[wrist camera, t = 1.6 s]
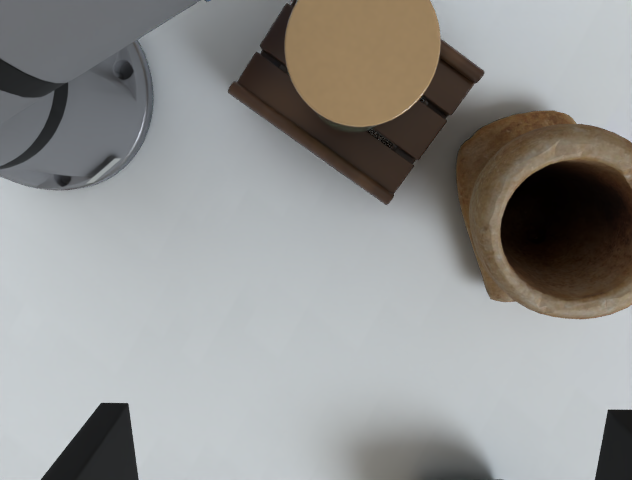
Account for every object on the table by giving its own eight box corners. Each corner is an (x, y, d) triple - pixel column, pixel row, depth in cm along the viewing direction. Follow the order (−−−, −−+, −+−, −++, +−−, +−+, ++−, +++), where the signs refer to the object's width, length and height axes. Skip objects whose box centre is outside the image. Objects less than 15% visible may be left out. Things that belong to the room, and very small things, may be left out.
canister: (283, 96, 31) (254, 67, 20) (341, 7, 30) (343, -74, 19) (365, 155, 32) (378, 156, 21) (425, 69, 30) (473, 24, 19)
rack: (244, 101, 36) (226, 91, 30) (321, -21, 34) (318, -56, 28) (379, 197, 37) (387, 206, 31) (462, 84, 35) (486, 70, 29)
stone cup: (414, 143, 36) (466, 138, 21) (569, 97, 35) (737, 57, 20) (460, 322, 39) (534, 427, 24) (606, 284, 37) (779, 371, 23)
